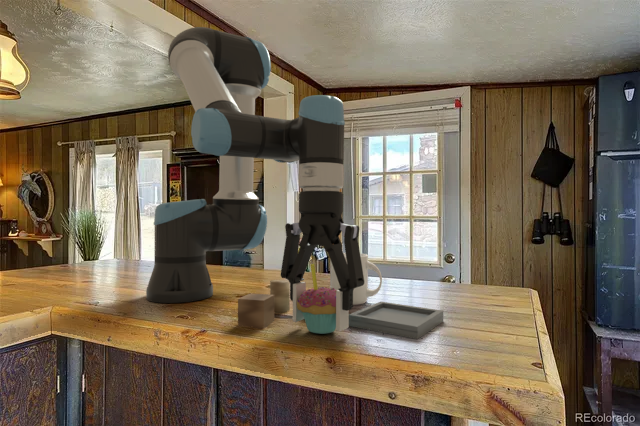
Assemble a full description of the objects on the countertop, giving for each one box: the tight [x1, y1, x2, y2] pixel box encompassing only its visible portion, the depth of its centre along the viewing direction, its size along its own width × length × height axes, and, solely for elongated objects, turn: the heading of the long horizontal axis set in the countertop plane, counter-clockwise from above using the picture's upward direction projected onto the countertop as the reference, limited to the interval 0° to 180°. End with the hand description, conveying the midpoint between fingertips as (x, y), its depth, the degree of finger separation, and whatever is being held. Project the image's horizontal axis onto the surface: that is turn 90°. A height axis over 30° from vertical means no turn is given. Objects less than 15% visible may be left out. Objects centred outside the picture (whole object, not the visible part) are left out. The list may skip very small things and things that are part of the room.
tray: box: [349, 301, 444, 340], centre depth 73 cm, size 13×13×2 cm
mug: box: [329, 252, 383, 306], centre depth 91 cm, size 9×12×11 cm
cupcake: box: [297, 259, 336, 335], centre depth 68 cm, size 9×8×12 cm
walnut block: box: [237, 292, 275, 329], centre depth 73 cm, size 5×5×5 cm
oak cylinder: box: [269, 279, 291, 314], centre depth 83 cm, size 4×4×6 cm
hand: (319, 324), depth 68 cm, fingers closed on cupcake, 8 cm apart
